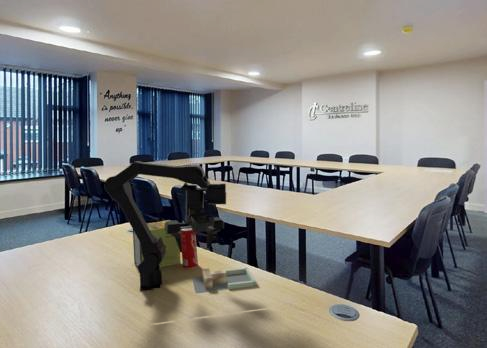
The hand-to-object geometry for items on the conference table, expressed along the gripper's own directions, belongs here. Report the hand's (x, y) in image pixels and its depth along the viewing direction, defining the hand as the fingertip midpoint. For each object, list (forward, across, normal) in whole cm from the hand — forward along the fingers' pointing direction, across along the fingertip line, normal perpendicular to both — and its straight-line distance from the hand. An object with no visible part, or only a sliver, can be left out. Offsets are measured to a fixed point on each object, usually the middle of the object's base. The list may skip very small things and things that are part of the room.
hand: (194, 250), depth 110 cm
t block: (+11, +6, -2) cm, 13 cm away
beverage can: (+12, +2, +16) cm, 20 cm away
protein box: (+13, -8, +24) cm, 29 cm away
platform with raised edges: (+12, +9, -2) cm, 15 cm away
